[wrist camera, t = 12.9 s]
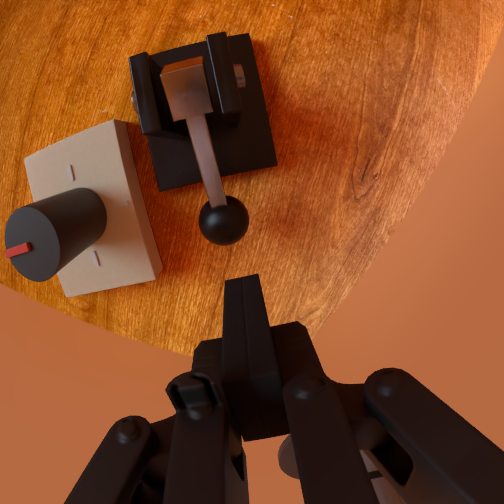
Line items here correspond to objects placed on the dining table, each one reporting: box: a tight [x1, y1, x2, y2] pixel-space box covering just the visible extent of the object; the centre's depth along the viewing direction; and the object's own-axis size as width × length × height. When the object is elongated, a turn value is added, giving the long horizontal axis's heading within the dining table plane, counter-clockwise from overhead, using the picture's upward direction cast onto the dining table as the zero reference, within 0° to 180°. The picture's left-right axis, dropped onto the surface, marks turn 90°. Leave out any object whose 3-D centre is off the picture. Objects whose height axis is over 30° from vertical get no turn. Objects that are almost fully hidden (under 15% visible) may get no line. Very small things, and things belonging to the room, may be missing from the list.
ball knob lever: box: [160, 56, 249, 246], centre depth 18 cm, size 13×4×4 cm, turn 11°
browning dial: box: [4, 187, 107, 282], centre depth 19 cm, size 5×5×8 cm
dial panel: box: [24, 119, 163, 297], centre depth 24 cm, size 14×10×3 cm
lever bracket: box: [129, 32, 278, 192], centre depth 18 cm, size 12×10×12 cm
